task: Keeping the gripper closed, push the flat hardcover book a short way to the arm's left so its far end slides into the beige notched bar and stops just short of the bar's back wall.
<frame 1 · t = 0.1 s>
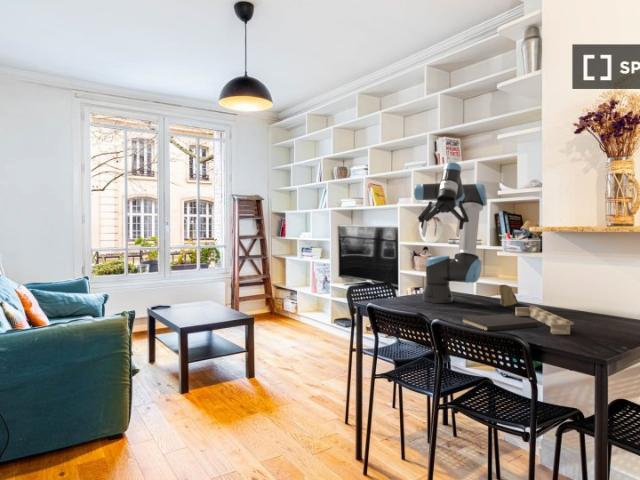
hand: (439, 235, 172), 36 cm above the table, tool tilted 35°, fingers open, 13 cm apart
hardcover book: (498, 325, 171), on the table
beige notched bar: (540, 323, 171), on the table
rock: (509, 304, 211), on the table
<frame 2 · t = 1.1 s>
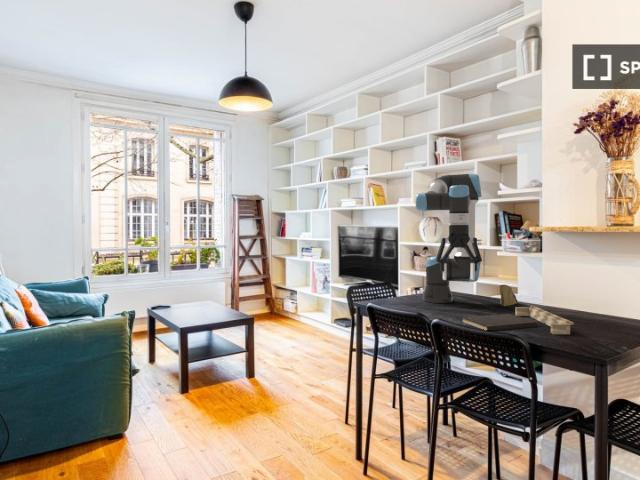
hand: (458, 279, 171), 18 cm above the table, tool pointing down, fingers open, 10 cm apart
nothing on the table moved.
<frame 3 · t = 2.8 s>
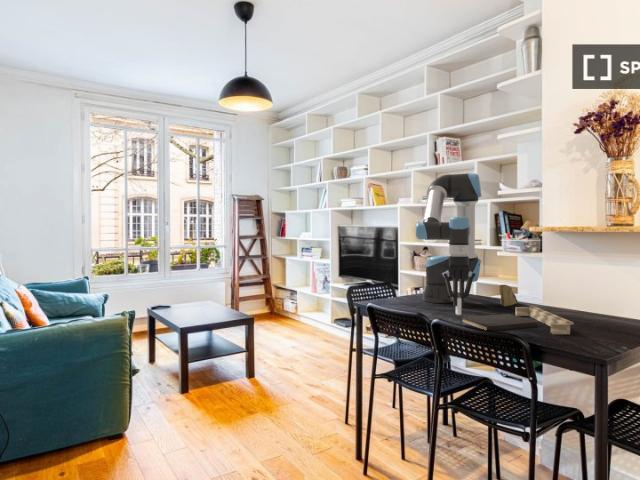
hand: (458, 314, 171), 4 cm above the table, tool pointing down, fingers closed
nothing on the table moved.
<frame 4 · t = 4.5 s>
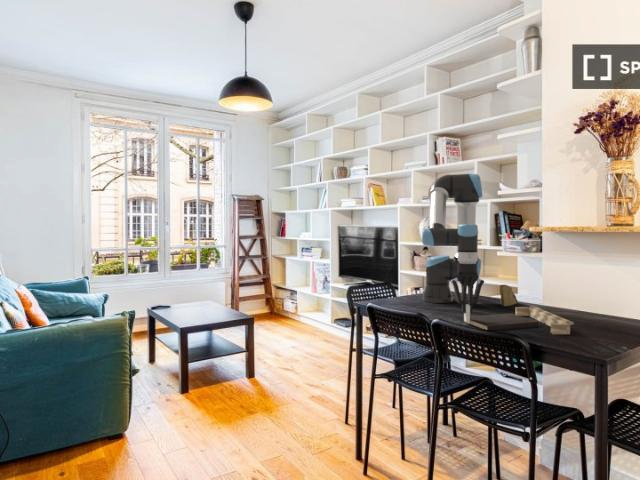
hand: (466, 320, 171), 1 cm above the table, tool pointing down, fingers closed
nothing on the table moved.
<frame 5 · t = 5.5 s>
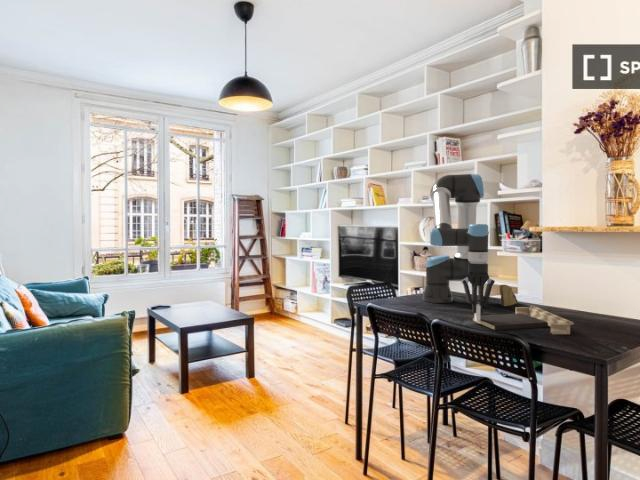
hand: (477, 320, 171), 1 cm above the table, tool pointing down, fingers closed
hardcover book: (508, 325, 172), on the table, touching gripper
everything else where it was.
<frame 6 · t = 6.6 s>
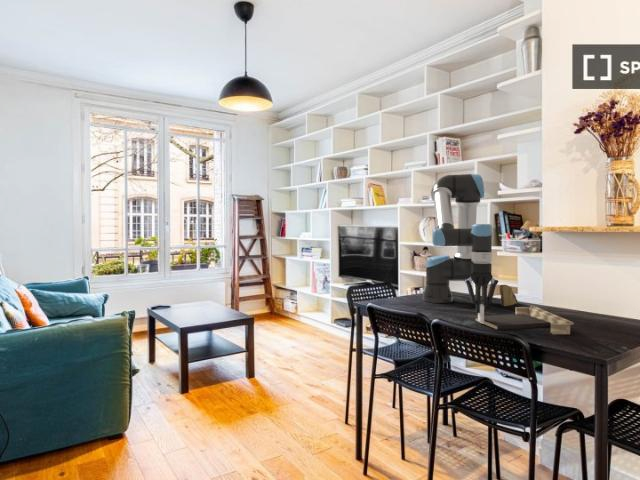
hand: (480, 320, 171), 1 cm above the table, tool pointing down, fingers closed
hardcover book: (511, 325, 172), on the table
everything else where it was.
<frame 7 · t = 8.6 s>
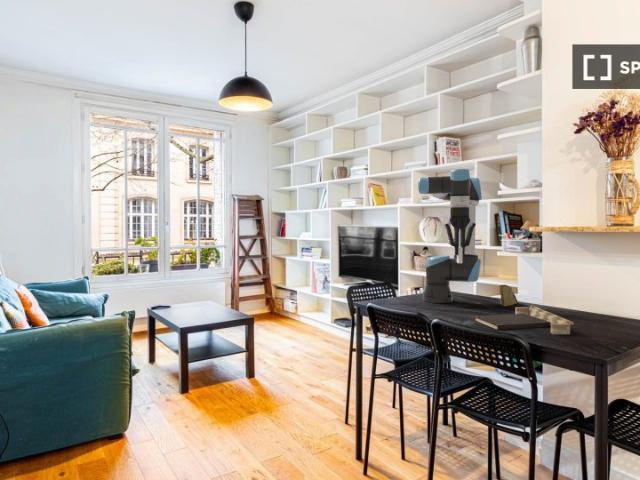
hand: (459, 262, 180), 24 cm above the table, tool pointing down, fingers closed
nothing on the table moved.
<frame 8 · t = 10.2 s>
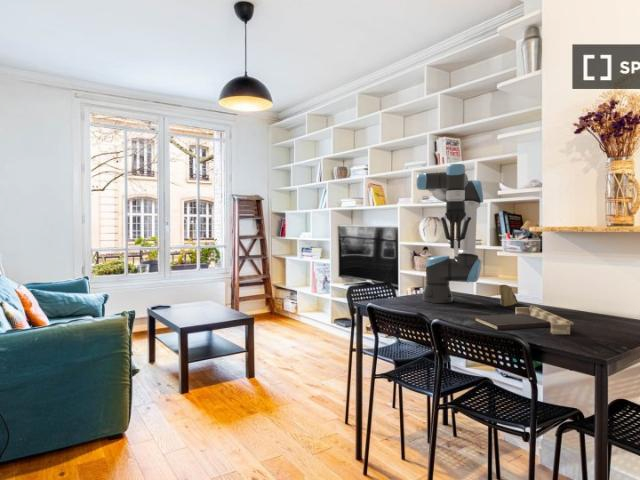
hand: (455, 256, 182), 26 cm above the table, tool pointing down, fingers closed
nothing on the table moved.
at the end: hardcover book inside the target area (2.6 cm from its centre), on the table; hardcover book moved 5.7 cm from its start; hardcover book tilted 0° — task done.
